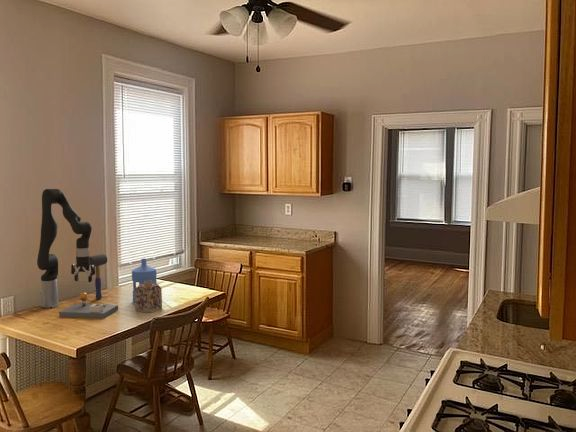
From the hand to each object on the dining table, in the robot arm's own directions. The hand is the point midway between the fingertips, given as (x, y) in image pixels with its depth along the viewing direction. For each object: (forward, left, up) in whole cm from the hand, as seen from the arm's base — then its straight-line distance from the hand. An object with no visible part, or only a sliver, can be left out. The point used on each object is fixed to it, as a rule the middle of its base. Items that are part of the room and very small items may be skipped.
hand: (83, 281), depth 305 cm
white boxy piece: (+11, -6, -16) cm, 21 cm away
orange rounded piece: (-2, +4, -16) cm, 17 cm away
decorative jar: (+37, +10, -19) cm, 43 cm away
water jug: (+26, +30, -19) cm, 44 cm away
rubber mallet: (-7, +31, -19) cm, 37 cm away
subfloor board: (+4, -1, -19) cm, 20 cm away
